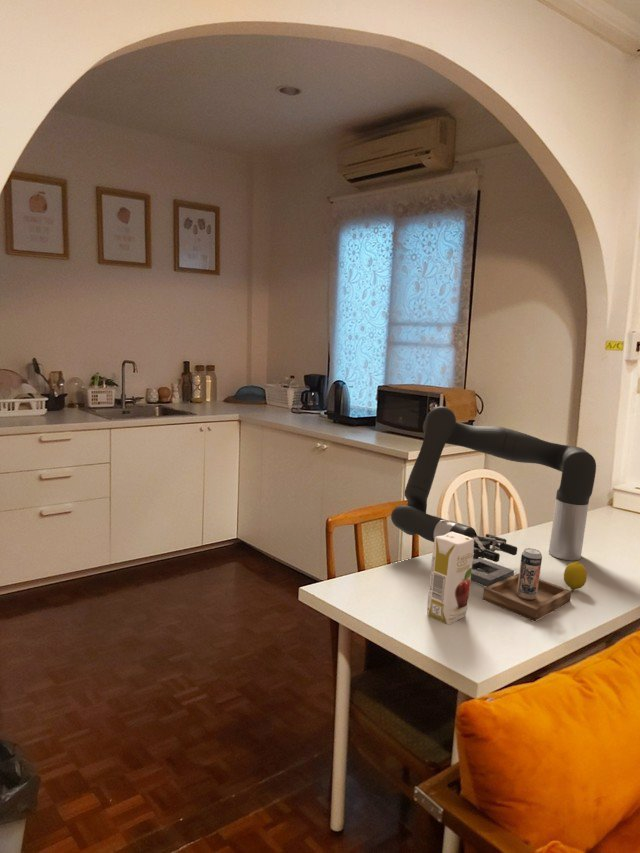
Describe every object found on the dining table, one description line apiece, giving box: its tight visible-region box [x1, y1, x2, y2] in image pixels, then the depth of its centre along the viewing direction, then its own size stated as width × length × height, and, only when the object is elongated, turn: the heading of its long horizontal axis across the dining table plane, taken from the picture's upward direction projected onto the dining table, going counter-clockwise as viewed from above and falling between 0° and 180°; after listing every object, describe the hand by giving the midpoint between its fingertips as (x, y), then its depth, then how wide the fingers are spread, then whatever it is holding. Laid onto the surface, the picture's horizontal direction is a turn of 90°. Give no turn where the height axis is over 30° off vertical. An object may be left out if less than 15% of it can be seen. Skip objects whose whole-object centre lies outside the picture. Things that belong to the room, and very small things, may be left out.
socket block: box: [470, 557, 515, 587], centre depth 170 cm, size 12×12×2 cm
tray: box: [481, 572, 573, 622], centre depth 155 cm, size 18×14×3 cm
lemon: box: [563, 560, 588, 591], centre depth 164 cm, size 6×6×8 cm
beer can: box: [517, 547, 543, 600], centre depth 155 cm, size 5×5×12 cm
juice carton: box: [426, 531, 474, 625], centre depth 143 cm, size 8×9×19 cm
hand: (507, 554), depth 159 cm, fingers open, 8 cm apart
